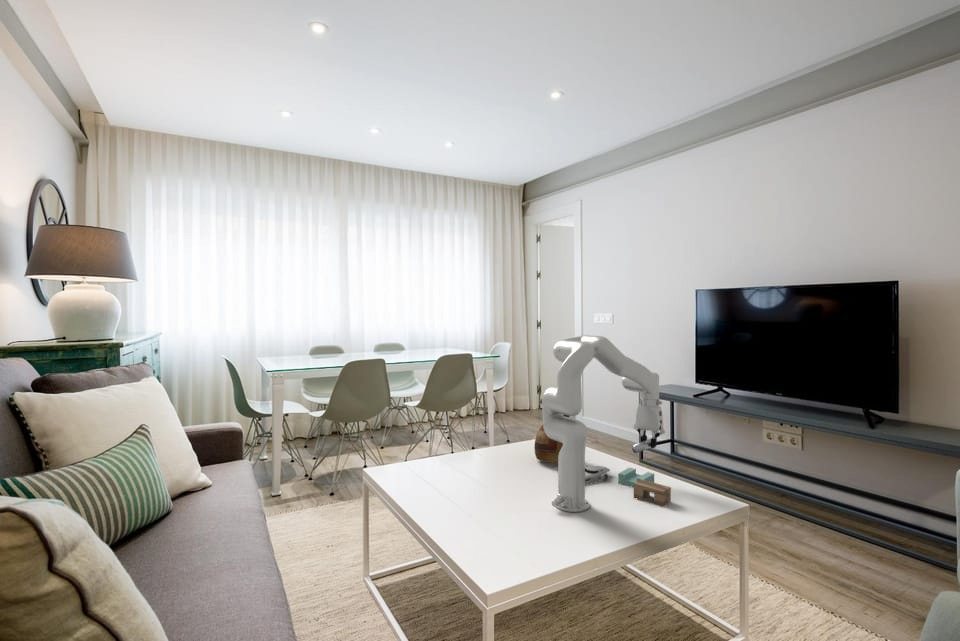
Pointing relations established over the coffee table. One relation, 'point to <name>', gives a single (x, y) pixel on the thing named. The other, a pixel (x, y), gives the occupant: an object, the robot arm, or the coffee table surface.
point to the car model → (596, 474)
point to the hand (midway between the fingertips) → (648, 446)
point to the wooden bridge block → (660, 492)
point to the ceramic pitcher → (546, 446)
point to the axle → (641, 446)
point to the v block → (633, 477)
